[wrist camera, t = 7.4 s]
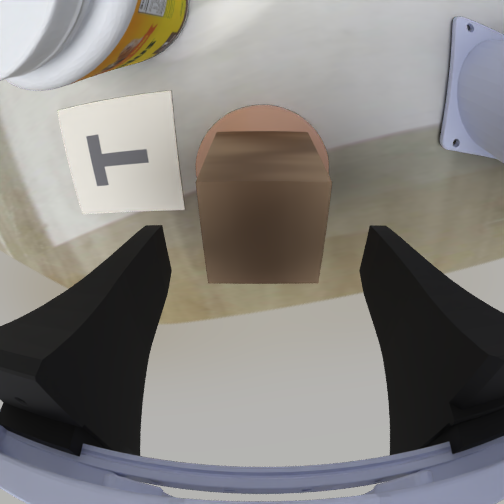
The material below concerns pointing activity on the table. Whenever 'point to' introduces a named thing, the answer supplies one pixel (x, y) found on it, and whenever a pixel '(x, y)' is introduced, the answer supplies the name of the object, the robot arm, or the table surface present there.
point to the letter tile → (123, 154)
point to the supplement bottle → (81, 37)
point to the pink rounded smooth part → (261, 128)
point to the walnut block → (263, 208)
